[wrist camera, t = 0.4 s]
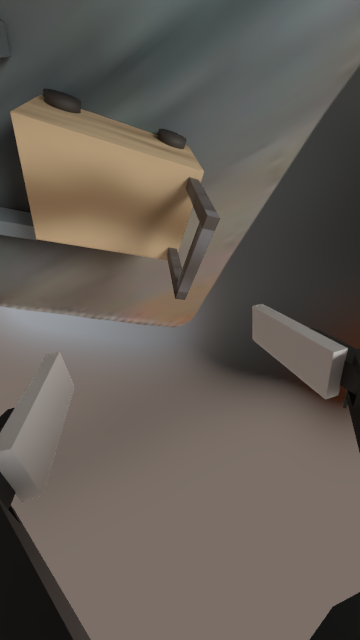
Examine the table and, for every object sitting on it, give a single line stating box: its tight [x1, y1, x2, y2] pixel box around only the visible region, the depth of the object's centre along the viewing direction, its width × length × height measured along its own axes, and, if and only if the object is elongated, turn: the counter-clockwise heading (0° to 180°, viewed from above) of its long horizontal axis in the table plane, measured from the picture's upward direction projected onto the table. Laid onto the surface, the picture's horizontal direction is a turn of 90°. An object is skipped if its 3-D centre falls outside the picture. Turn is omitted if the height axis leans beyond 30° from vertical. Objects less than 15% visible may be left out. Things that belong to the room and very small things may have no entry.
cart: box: [10, 89, 220, 300], centre depth 17 cm, size 9×12×13 cm
